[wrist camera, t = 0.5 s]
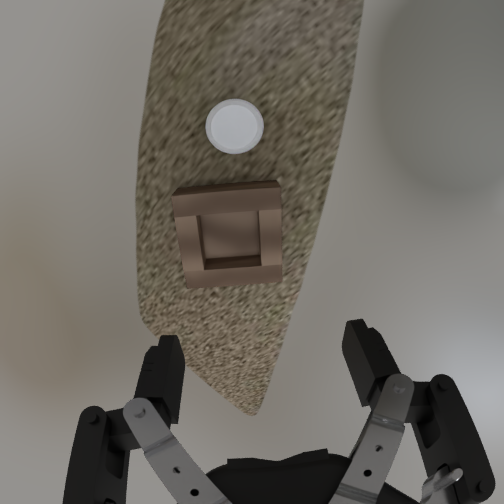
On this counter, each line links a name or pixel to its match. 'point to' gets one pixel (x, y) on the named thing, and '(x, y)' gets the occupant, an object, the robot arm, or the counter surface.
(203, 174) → the counter surface
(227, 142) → the supplement bottle
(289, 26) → the counter surface
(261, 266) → the socket block
